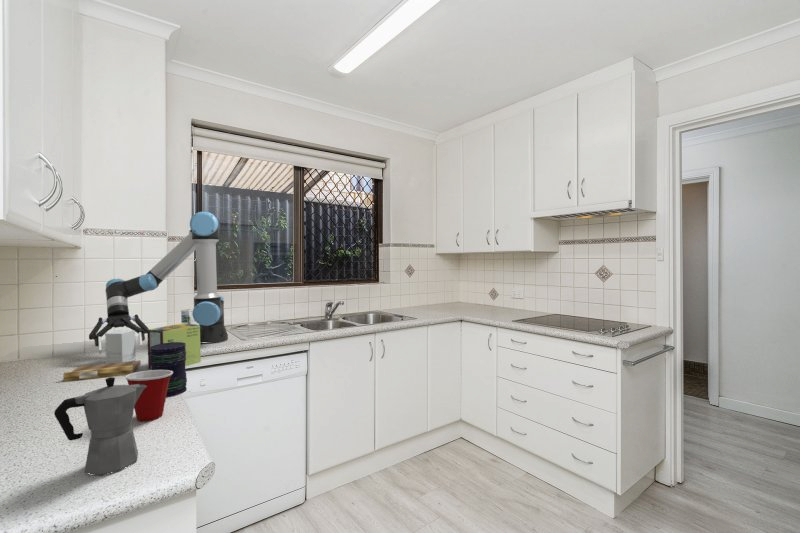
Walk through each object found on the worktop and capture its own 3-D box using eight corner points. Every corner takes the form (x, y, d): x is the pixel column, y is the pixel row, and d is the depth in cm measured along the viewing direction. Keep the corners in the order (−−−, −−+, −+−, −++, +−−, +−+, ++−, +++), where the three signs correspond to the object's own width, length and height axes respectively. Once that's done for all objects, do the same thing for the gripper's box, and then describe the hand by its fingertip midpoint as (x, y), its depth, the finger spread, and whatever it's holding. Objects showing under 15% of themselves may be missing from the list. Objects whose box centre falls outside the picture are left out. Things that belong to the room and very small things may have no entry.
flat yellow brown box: (140, 364, 155) (140, 356, 155) (132, 374, 141) (132, 366, 141) (78, 370, 147) (78, 362, 147) (63, 382, 133) (62, 373, 133)
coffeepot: (139, 444, 88) (137, 366, 87) (157, 457, 82) (155, 373, 82) (50, 476, 75) (47, 384, 75) (64, 493, 70) (61, 394, 69)
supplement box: (136, 359, 162) (135, 330, 162) (122, 364, 155) (121, 333, 155) (120, 359, 163) (119, 329, 163) (105, 364, 156) (104, 333, 155)
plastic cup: (183, 411, 107) (182, 368, 106) (147, 427, 96) (146, 380, 96) (153, 407, 110) (152, 365, 109) (115, 422, 99) (114, 377, 99)
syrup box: (180, 335, 212) (180, 309, 212) (189, 333, 218) (189, 308, 217) (189, 336, 210) (188, 310, 210) (197, 334, 216) (197, 308, 216)
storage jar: (187, 393, 120) (186, 346, 120) (150, 400, 115) (149, 350, 115) (186, 385, 129) (185, 340, 128) (151, 390, 124) (150, 344, 123)
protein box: (201, 362, 157) (200, 324, 157) (163, 372, 144) (162, 331, 143) (185, 359, 162) (184, 322, 162) (147, 368, 149) (146, 329, 148)
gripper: (150, 311, 178) (156, 349, 167) (81, 317, 162) (82, 359, 151) (152, 301, 174) (157, 339, 163) (80, 306, 158) (81, 348, 147)
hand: (121, 349), depth 157 cm, fingers open, 13 cm apart
